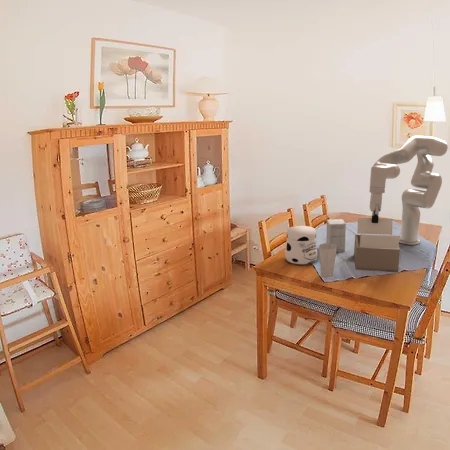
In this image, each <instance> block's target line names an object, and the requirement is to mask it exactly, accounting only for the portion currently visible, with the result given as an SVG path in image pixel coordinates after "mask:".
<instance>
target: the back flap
mask: <svg viewBox="0 0 450 450" xmlns="http://www.w3.org/2000/svg"><path fill="white" fill-rule="evenodd" d="M371 221H372V217H370V218H367V217H357V229H356V231H357V235H361V234H366V235H393V218H379V217H378V223H372V222H371Z"/></svg>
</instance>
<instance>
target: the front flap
mask: <svg viewBox="0 0 450 450" xmlns="http://www.w3.org/2000/svg"><path fill="white" fill-rule="evenodd" d="M360 235H361V237H360V247H368V248H391V249H398V246H399V243H400V242H399V240H400V235H394V234H392V235H386V234H360Z"/></svg>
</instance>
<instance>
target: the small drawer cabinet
mask: <svg viewBox="0 0 450 450" xmlns="http://www.w3.org/2000/svg"><path fill="white" fill-rule="evenodd" d="M346 225H347V224H346V222H345V221H344V219H342V218H339V219H338V218H336V219H326V242H325V243H331V244H334V245H336V246H337V250H336V253H337V252H338V253H339V252H340V253H341V252H346V229H347V228H346Z"/></svg>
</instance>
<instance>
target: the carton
mask: <svg viewBox="0 0 450 450" xmlns="http://www.w3.org/2000/svg"><path fill="white" fill-rule="evenodd" d="M360 237H361V234H354V246H353V247H354V248H353V250H354V251H353V259H354V267H355V270H357V271H373V272H374V271H376V272H387V273H389V272H390V273H391V272H392V273H398V272H399V268H400V267H399V265H400V258H401V257H400V253H401V249H400V246H399V245H398V249H391V248H368V247H360Z"/></svg>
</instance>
